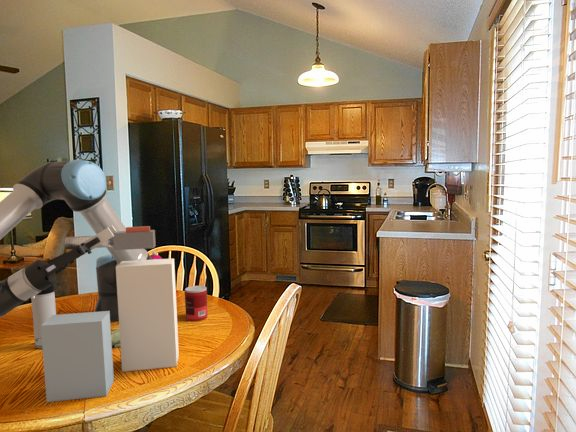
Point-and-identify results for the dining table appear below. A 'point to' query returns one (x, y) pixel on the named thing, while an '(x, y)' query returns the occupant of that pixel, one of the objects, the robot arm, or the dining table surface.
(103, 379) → the low stand
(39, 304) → the travel mug
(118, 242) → the grey piece
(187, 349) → the dining table surface
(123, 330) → the tall stand
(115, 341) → the washcloth
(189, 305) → the canned food
